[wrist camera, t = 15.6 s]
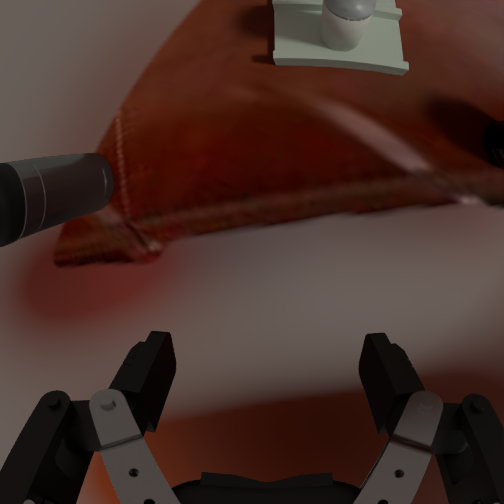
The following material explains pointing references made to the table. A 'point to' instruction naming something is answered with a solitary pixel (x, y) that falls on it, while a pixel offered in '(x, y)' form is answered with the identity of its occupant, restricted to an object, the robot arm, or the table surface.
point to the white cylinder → (345, 22)
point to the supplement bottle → (495, 143)
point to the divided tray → (319, 54)
